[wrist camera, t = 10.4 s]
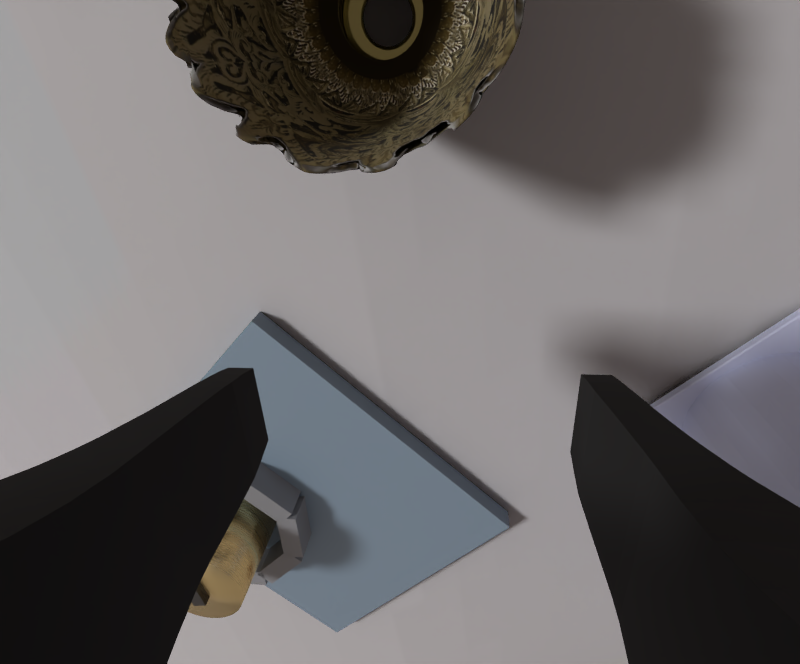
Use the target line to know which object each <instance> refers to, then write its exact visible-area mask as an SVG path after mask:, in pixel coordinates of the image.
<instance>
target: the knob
mask: <svg viewBox="0 0 800 664" xmlns="http://www.w3.org/2000/svg"><path fill="white" fill-rule="evenodd" d="M276 522H277V521H275V520H274V519H272V518H271V517H269V516H268V515H267V514H265V513H264V512H262V511H261V510H259V509H258V508H256V507H255V506H254V505H252V504H251V503H249V502H248V501H246V500H245V499H244V500H243V502H242V503H241V505H240V507H239V509H238V511H237V513H236V515H235V517H234V518H233V520H232V522H231V524H230V526H229V528H228V530H227V532H226V533H225V535H224V537H223V539H222V541H221V543H220V545H219V546H218V548H217V550H216V552H215V554H214V556H213V558H212V559H211V561H210V563H209V565H208V567H207V569H206V571H205V573H204V575H203V577H202V579H201V581H200V583H199V585H198V588H197V590H196V592H195V595H194V597H193V600H192V602H191V604H190V607H189V609H188V612H190V613H192V614H195V615H199V616H203V617H210V618H221V617H227V616H230V615H232V614H234V613H235V612H237V611H238V610H239V608H240V607H241V605H242V602H243V600H244V598H245V595H246V593H247V591H248V588H249V586H250V584H251V582H252V579H253V577H254V575H255V572H256V570H257V568H258V565H259V563H260V561H261V558H262V556H263V554H264V551H265V549H266V547H267V544H268V542H269V540H270V537H271V535H272V533H273V530H274V528H275V526H276Z"/></svg>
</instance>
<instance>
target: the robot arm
mask: <svg viewBox="0 0 800 664" xmlns="http://www.w3.org/2000/svg"><path fill="white" fill-rule="evenodd" d="M268 440H269V439H268V435H267V430H266V425H265V421H264V416H263V411H262V406H261V402H260V397H259V392H258V388H257V383H256V378H255V374H254V369H253V368H226V369H224V370H221V371H219V372H217V373H215V374H213V375H211V376H209V377H208V378H206V379H204V380H202V381H200V382H199V383H197V384H195V385H193V386H191V387H190V388H188V389H186V390H184V391H183V392H181V393H179V394H177V395H176V396H174V397H172V398H170V399H169V400H167V401H165V402H163V403H162V404H160V405H158V406H156V407H155V408H153V409H151V410H149V411H148V412H146V413H144V414H142V415H140V416H138V417H136V418H135V419H133V420H131V421H129V422H127V423H125V424H123V425H121V426H120V427H118V428H116V429H114V430H112V431H110V432H108V433H106V434H104V435H103V436H101V437H99V438H97V439H95V440H93V441H91V442H89V443H86V444H84V445H82V446H80V447H78V448H76V449H74V450H72V451H69V452H67V453H65V454H63V455H60V456H58V457H56V458H54V459H51V460H49V461H47V462H45V463H42V464H40V465H37V466H35V467H33V468H30V469H28V470H25V471H22V472H20V473H17V474H15V475H12V476H9V477H7V478H4V479H1V480H0V664H167V662H168V659H169V657H170V654H171V651H172V649H173V646H174V644H175V641H176V638H177V636H178V633H179V631H180V629H181V626H182V624H183V621H184V619H185V616H186V614H187V612H188V609H189V607H190V604H191V602H192V600H193V597H194V595H195V592H196V590H197V588H198V585H199V583H200V581H201V579H202V577H203V575H204V573H205V571H206V569H207V567H208V565H209V563H210V561H211V559H212V558H213V556H214V554H215V552H216V550H217V548H218V546H219V545H220V543H221V541H222V539H223V537H224V535H225V533H226V532H227V530H228V528H229V526H230V524H231V522H232V520H233V518H234V517H235V515H236V513H237V511H238V509H239V507H240V505H241V503H242V502H243V500H244V498H245V496H246V494H247V492H248V490H249V488H250V486H251V484H252V482H253V480H254V478H255V476H256V473H257V471H258V468H259V465H260V463H261V460H262V457H263V454H264V451H265V449H266V446H267V443H268ZM570 452H571V457H572V463H573V469H574V474H575V479H576V484H577V489H578V494H579V497H580V501H581V504H582V507H583V510H584V513H585V516H586V519H587V522H588V525H589V529H590V532H591V535H592V538H593V541H594V544H595V547H596V550H597V553H598V556H599V559H600V562H601V565H602V568H603V571H604V574H605V577H606V580H607V583H608V586H609V589H610V592H611V595H612V598H613V602H614V605H615V609H616V612H617V616H618V619H619V623H620V627H621V632H622V636H623V641H624V645H625V649H626V654H627V658H628V663H629V664H800V308H799V309H798V310H796V311H795V312H793V313H792V314H790V315H789V316H787V317H786V318H784V319H782V320H781V321H779V322H778V323H776V324H775V325H773V326H772V327H770V328H768V329H767V330H765V331H764V332H762V333H761V334H759V335H758V336H756V337H754V338H753V339H751V340H750V341H748V342H747V343H745V344H744V345H742V346H740V347H739V348H737V349H736V350H734V351H733V352H731V353H730V354H728V355H727V356H725V357H723V358H722V359H720V360H719V361H717V362H716V363H714V364H713V365H711V366H709V367H708V368H706V369H705V370H703V371H702V372H700V373H699V374H697V375H695V376H694V377H692V378H691V379H689V380H688V381H686V382H685V383H683V384H681V385H680V386H678V387H677V388H675V389H674V390H672V391H671V392H669V393H668V394H666V395H664V396H663V397H661V398H660V399H658V400H657V401H655V402H654V403H652V404H650V405H649V404H648V403H647V402H645V401H644V400H643V399H642V398H640V397H639V396H638V395H637V394H635V393H634V392H633V391H632V390H631V389H629V388H628V387H627V386H626V385H624V384H623V383H622V382H620V381H619V380H618V379H616V378H615V377H614V376H612V375H581V379H580V387H579V394H578V401H577V408H576V415H575V423H574V430H573V437H572V444H571V451H570Z"/></svg>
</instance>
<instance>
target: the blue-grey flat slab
mask: <svg viewBox="0 0 800 664" xmlns="http://www.w3.org/2000/svg"><path fill="white" fill-rule="evenodd" d="M226 368H253V369H254V374H255V378H256V383H257V388H258V392H259V397H260V402H261V406H262V411H263V416H264V421H265V425H266V430H267V435H268V439H269V440H268V443H267V446H266V449H265V451H264V454H263V457H262V460H261V463H260V465H259V468H258V471H257V473H256V476H255V478H254V480H253V482H252V484H251V486H250V488H249V490H248V492H247V494H246V496H245V498H244V499H245V500H246V501H248V502H249V503H251V504H252V505H254V506H255V507H256V508H258V509H259V510H261V511H262V512H264V513H265V514H267V515H268V516H269V517H271V518H272V519H274V520H275V521H277V522H276V526H275V528H274V530H273V533H272V535H271V537H270V540H269V542H268V544H267V547H266V549H265V551H264V554H263V556H262V558H261V561H260V563H259V565H258V568H257V570H256V572H255V575H254V577H253V579H252V582H251V584H260V585H265V586H267V587H268V588H270V589H271V590H273V591H275V592H276V593H278V594H279V595H281V596H282V597H284V598H285V599H287V600H288V601H290V602H291V603H293V604H294V605H296V606H298V607H299V608H301V609H302V610H304V611H305V612H307V613H308V614H310V615H311V616H313V617H314V618H316V619H317V620H319V621H321V622H322V623H324V624H325V625H327V626H328V627H330V628H331V629H333V630H334V631H336V632H338V631H340V630H342V629H343V628H345V627H347V626H348V625H350V624H352V623H353V622H355V621H357V620H358V619H360V618H361V617H363V616H365V615H366V614H368V613H370V612H371V611H373V610H375V609H376V608H378V607H380V606H381V605H383V604H384V603H386V602H388V601H389V600H391V599H393V598H394V597H396V596H398V595H399V594H401V593H403V592H404V591H406V590H407V589H409V588H411V587H412V586H414V585H416V584H417V583H419V582H421V581H422V580H424V579H426V578H427V577H429V576H430V575H432V574H434V573H435V572H437V571H439V570H440V569H442V568H444V567H445V566H447V565H449V564H450V563H452V562H453V561H455V560H457V559H458V558H460V557H462V556H463V555H465V554H467V553H468V552H470V551H472V550H473V549H475V548H476V547H478V546H480V545H481V544H483V543H485V542H486V541H488V540H490V539H491V538H493V537H495V536H496V535H498V534H499V533H501V532H503V531H504V530H506V529H508V528H509V518H508V511H506V510H505V509H504V508H503V507H501V506H500V505H499V504H498V503H496V502H495V501H494V500H493V499H491V498H490V497H489V496H488V495H487V494H485V493H484V492H483V491H482V490H480V489H479V488H478V487H477V486H475V485H474V484H473V483H472V482H470V481H469V480H468V479H467V478H466V477H464V476H463V475H462V474H461V473H459V472H458V471H457V470H456V469H454V468H453V467H452V466H451V465H449V464H448V463H447V462H446V461H445V460H443V459H442V458H441V457H440V456H438V455H437V454H436V453H435V452H433V451H432V450H431V449H430V448H428V447H427V446H426V445H425V444H424V443H422V442H421V441H420V440H419V439H417V438H416V437H415V436H414V435H412V434H411V433H410V432H409V431H407V430H406V429H405V428H404V427H403V426H401V425H400V424H399V423H398V422H396V421H395V420H394V419H393V418H391V417H390V416H389V415H388V414H386V413H385V412H384V411H383V410H382V409H380V408H379V407H378V406H377V405H375V404H374V403H373V402H372V401H370V400H369V399H368V398H367V397H365V396H364V395H363V394H362V393H360V392H359V391H358V390H357V389H356V388H354V387H353V386H352V385H351V384H349V383H348V382H347V381H346V380H344V379H343V378H342V377H341V376H339V375H338V374H337V373H336V372H335V371H333V370H332V369H331V368H330V367H328V366H327V365H326V364H325V363H323V362H322V361H321V360H320V359H318V358H317V357H316V356H315V355H314V354H312V353H311V352H310V351H309V350H307V349H306V348H305V347H304V346H302V345H301V344H300V343H299V342H297V341H296V340H295V339H294V338H293V337H291V336H290V335H289V334H288V333H286V332H285V331H284V330H283V329H281V328H280V327H279V326H278V325H276V324H275V323H274V322H273V321H272V320H270V319H269V318H268V317H267V316H265V315H264V314H263V313H262V312H259V314H258V315H257V316H256V317H255V318H254V319H253V320H252V321H251V322H250V324H249V325H248V326H247V327H246V328H245V329H244V331H243V332H242V333H241V334H240V335H239V336H238V338H237V339H236V340H235V341H234V342H233V343H232V345H231V346H230V347H229V348H228V349H227V350H226V352H225V353H224V354H223V355H222V356H221V357H220V359H219V360H218V361H217V362H216V363H215V364H214V366H213V367H212V368H211V369H210V370H209V371H208V373H207V374H206V375H205V376H204V377H203V378H202V380H204V379H206V378H208V377H209V376H211V375H213V374H215V373H217V372H219V371H221V370H224V369H226ZM202 380H201V381H202Z"/></svg>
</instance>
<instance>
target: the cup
mask: <svg viewBox="0 0 800 664" xmlns="http://www.w3.org/2000/svg"><path fill="white" fill-rule="evenodd" d="M173 1H174V2H176V3H177V4H178V6H179V8H178V7H177V9H176V10H174V11H173V12H172V13H171V14H170V15H169V17H168V18H169V21H170V24H169V26H168V29H167V32H166V43H167V45H168V47H169V49H170V50H171V51H172V52H173V54H174V55H175V56H177V57H179V58H181V59H182V60H184V61H186V63H187V66H188V68H192V70H191V73H190V76H191V87H192V89H193V90H194V92H195V93H196V94H197V95H198V96H199V97H200V98H201V99H202V100H204V101H205V102H207V103H208V104H210V105H212V106H214V107H217V108H219V109H221V110H223V111H227V112H231V113H235V114H238V115H240V116H241V117H242V122H241V124H239V125H238V126H237V125H236V132H237V133H236V136H237V137H239V138H240V139H242V140H243V141H245V142H247V143H250V144H270V145H273V146H275V147H276V148H277V149H279V150H280V151H281V152H282V153H283V154H284V156H285V158H286V160H287V161H288V162H290V163H291V164H292V165H294V166H295V167H297V168H298V169H300V170H302V171H304V172H307V173H316V174H320V173H336V172H342V171H347V170H356V169H360V171H362V172H367V173H376V172H381V171H385V170H387V169H390V168H391V167H393V166H395V165H396V164H397V161H398V159H400V158H401V157H402V156H403V155H404V154H406V153H409V152H410V151H412V150H414V149H416V148H419V147H423V146H425V145H427V144H428V143H429V142H430V141H431V140H433V139H434V138H435V137H437V136H438V135H440V134H441V133H442V132H443V131H445V130H447V129H450V128H452V129H453V130H455V129H457V128H458V127H459V126H460V125H461V124H462V123H463V122H464V121H465V120H466V119H467V118H468V117H469V116H470V115H471V114H472V112H473V111H474V110H475V108H476V107H477V105H478V104H479V102H480V99H481V97H482V94H483V93H484V92H485V91H486V89H487V88H488V87H489V85H490V84H491V83H492V82H493V81H494V80H495V79H496V78H497V76H498V75H499V73H500V72H501V70H502V69H503V67H504V66H505V64H506V62H507V60H508V59H509V57H510V55H511V53H512V51H513V49H514V46H515V44H516V41H517V39H518V36H519V33H520V29H521V25H522V19H523V13H524V5H525V0H408V1H409V3H410V5H411V8H412V14H413V21H412V26H411V29H410V32H409V34H408V35H407V37H406V38H405V39H404V40H403V41H402V42H401V43H399V44H398V45H395V46H391V47H385V46H381V45H378V44H377V43H375V42H374V41H373V40H372V39H371V38H370V37H369V35H368V34H367V32H366V29H365V26H364V21H363V14H364V8H365V5H366V3H367V1H368V0H173ZM240 116H239V117H240Z"/></svg>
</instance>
